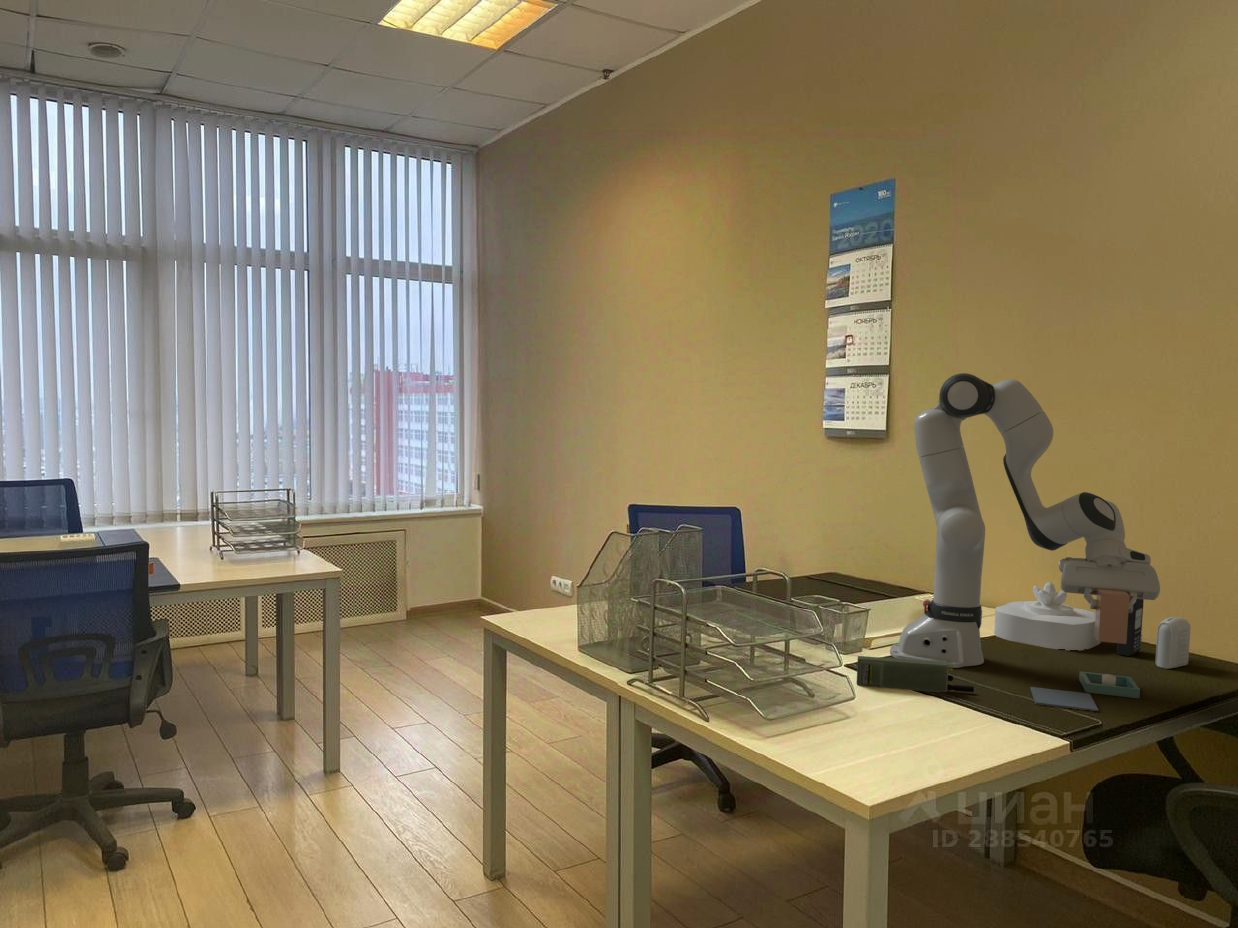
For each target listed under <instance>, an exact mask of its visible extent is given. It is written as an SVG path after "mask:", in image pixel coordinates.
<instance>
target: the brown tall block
mask: <svg viewBox="0 0 1238 928" xmlns="http://www.w3.org/2000/svg"><path fill="white" fill-rule="evenodd" d="M1096 600H1098V609H1095V613H1096V616H1095V632H1094V636H1095V637H1096V639H1097V640H1098V641H1101V643H1102V642H1103V643H1110V644H1111V643H1112V644H1117V643H1121V644H1126V640H1127V625H1128V610H1129V594H1127V593H1126V592H1125V591H1120V590H1108V589H1097V595H1096Z"/></svg>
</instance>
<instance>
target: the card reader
mask: <svg viewBox="0 0 1238 928" xmlns="http://www.w3.org/2000/svg"><path fill="white" fill-rule="evenodd" d="M1144 600H1145V599H1136V602H1135V603H1134V605H1133V612H1132V613H1128V625H1127V640H1126V644H1121V643H1116V644H1117V645H1116V646H1117V647H1116V651H1117V654H1118V655H1120V656H1124V657H1132V656H1134V655H1135V654H1136V653H1139V652H1140V650H1141V648H1142V639H1143V638H1142V637H1143V635H1142V631H1143V629H1142V628H1143V615H1144V602H1145V601H1144ZM1129 602H1130V601H1129Z"/></svg>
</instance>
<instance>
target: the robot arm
mask: <svg viewBox="0 0 1238 928" xmlns="http://www.w3.org/2000/svg"><path fill="white" fill-rule="evenodd" d="M978 415H985V416H987V417H988V418H990V420H991V421H992V422H993V424H994V426H996V428H997V430H998V432H999V434H1000V435H1001V436H1002V440H1003V441H1004V445H1005V454H1004V455H1003V459H1002V461H1003V463H1002V464H1003V466H1004V467H1003V468H1004V471H1005V473H1006V476H1007V479H1008V482H1009V484H1010V486H1011V489H1012V491H1013V493H1014V495H1015V498H1016V501H1017V503H1018V506H1019V507H1020V510H1021V513H1022V515H1023V518H1024V522H1025V525H1026V530H1027V533H1028V536H1029V538H1030V539H1031V541H1032V542H1033V544H1034V545H1035V546H1037V547H1039V548H1041V549H1043V550H1047V551H1053V552H1054V551H1056V550H1058V549H1060V548H1062V547H1064V546H1066V545H1067V544H1069V543H1072V542H1074V541H1076V540H1079V539H1082V538H1084V541H1085V543H1086V545H1085V550H1084V555H1085V558H1084V557H1070V556H1069V557H1068V556H1067V557H1065V558H1062V559H1060V560H1059V562H1058V569H1059V571H1060V572H1061V573H1062V575H1061V577H1060V578H1061V581H1060V589H1061V591H1064V592H1066V594H1068V593H1069V594H1078V595H1079V594H1080V595H1083V599H1085V601H1086V602H1088V604H1089V608H1090V610H1096V609H1098V600H1097V598H1096V599H1095V598H1094V597H1093V596H1097V589H1108V590H1120V591H1125V592H1126V593H1127V594H1129V601H1130V602H1129V610H1128V613H1132V612H1133V605H1134V603H1135V602H1136V599H1143V600H1146V601H1147V600H1149V601H1155V600H1156V599H1157V598H1159V595H1160V593H1161V585H1160V580H1159V575H1158V573H1157V571H1156V569H1155V568H1154V567H1153V566H1152V565H1151V561H1152V560H1151V559H1152V558H1151V555H1149V554H1147V553H1143V552H1140V551H1137V550H1133V549H1131V548H1129V547H1127V546H1126V543H1125V539H1126V530H1125V525H1124V521H1123V516H1122V515H1121V511H1120V510H1119V508H1118V506H1117V505H1116V504H1115V503H1113V502H1112V501H1110V500H1107V499H1104V498H1102V497H1101V496H1099V495H1097V494H1094V493H1091V492H1088V491H1083V492H1081V493H1078V494H1075V495H1073V496H1070V497H1068V498H1065V499H1064V500H1063V501H1060V502H1057V503H1055V504H1053V505H1050V506H1048V507H1046V506H1044V505H1043V503H1042V500H1041V498H1040V496H1039V493H1038V491H1037V488H1036V487H1035V484H1034V482H1033V478H1032V470H1033V468H1034V466H1035V465H1036V463H1037V462H1038V460H1039V459H1040V458H1041V457H1042V456H1043V454H1045V452H1046V451H1048V449H1049V447H1050V446H1051V443H1052V441H1053V437H1054V427H1053V424H1052V422H1051V421H1050V418H1049V416H1048V415H1047V414H1046V412H1045V410H1044V409H1043V407H1042V405H1041V404H1040V403H1039V402H1038V400H1037V399H1036V398H1035V397H1034V395H1033V394H1032V393H1031V392H1030V390H1028V388H1027V387H1025V385H1024V384H1023V383H1022V382H1021V381H1019V380H1018V379H1011V378H1009V379H1004V380H1000V381H998V382H996V383H994V384H991V383H989V382H987V381H986V380H983V379H982V378H980V377H977V375H974V374H971V373H968V372H967V373H966V372H960V373H956V374H953V375H951V376H950V377H948V378H947V379H946V380H945V381H944V382H943V383H942V385H941V387H940V390H939V396H938V401H937V404H936V406H934V407H932V408H928V409H926V410H923V411H921V412H920V413H919V414H918V415H917V416H916V417H915V419H914V424H913V426H914V428H913V429H914V439H915V446H916V452H917V456H918V460H919V464H920V468H921V472H922V474H923V479H924V483H925V488H926V491H927V493H928V497H929V501H930V505H931V509H932V511H933V516H934V519H935V523H936V524H935V525H936V547H935V562H934V563H935V565H934V580H933V582H934V584H933V600H930V599H929V598H928V599H924V600H923V602H922V606H923V607H924V609H923V611H924V615H922V616H921V617H920V616H919V618H917V619H915V620H914V621H912V622H910V623H909V624H907V625H906V626H905V627H904V628H903V629H902V632H901V634H900V636H899V641H898V642H897V643H894V644H892V645H891V646H890V649H889V654H890V656H891V657H893V658H894V659H907V660H921V661H934V662H948V663H953V666H949V667H951V668H953V669H954V668H955V669H959V668H964V667H972V666H979V665H982V664H984V663H985V659H984V656H983V652H982V644H981V643H982V642H981V631H980V629H981V626H982V622H983V621H982V619H983V609H982V608H983V607H982V605H981V596H982V595H981V593H982V592H981V591H982V575H983V565H984V554H985V551H984V550H985V540H986V539H985V538H986V525H985V522H984V519H983V517H982V513H981V510H980V509H981V508H980V505H979V501H978V498H977V493H976V489H975V485H974V482H973V476H972V473H971V469H970V465H969V460H968V456H967V453H966V449H965V446H964V445H965V444H964V442H963V438H962V434H961V433H962V432H961V424H962V422H963V421H964V420H966V419H968V418H973V417H974V416H975V417H976V416H978Z"/></svg>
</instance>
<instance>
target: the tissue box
mask: <svg viewBox="0 0 1238 928" xmlns="http://www.w3.org/2000/svg"><path fill="white" fill-rule="evenodd" d="M1055 587H1056V586H1055V584H1054V583H1053V582H1051V581H1048V582H1046V583H1045V584H1044V586H1043V589H1042V588H1041V587H1038V586H1037V585H1035V584H1034V585H1033V587H1032V591H1033V595H1034V597H1035V599H1036V600H1029V601H1028V600H1023V601H1011V602H1008V603H1006V604H1004V605H999V606H995V608H994V609H995V611H994V630H993V634H994V635H995V636H996V637H998V638H1001V639H1003V640H1006V641H1009V642H1015V643H1020V644H1025V645H1031V646H1035V647H1041V648H1046V649H1052V650H1058V649H1065V650H1064V651H1070V650H1078V651H1085V650H1084V649H1087V650H1089V649H1092V648H1094V647H1097V646H1099V645H1100V644H1101V643H1102V642H1101V641H1098V640H1097V639H1096V637H1095V636H1094V632H1095V616H1096V612H1094V611H1093V610H1092V611H1090V610H1088V609H1081V608H1078V607H1077V608H1075V607H1072V606H1071V605H1068V604H1064V603H1065V602H1066V599H1067V597H1068V595H1067V593H1066V592H1064V591H1063V590H1059V591H1058V592H1056V591H1057V590H1056V588H1055Z"/></svg>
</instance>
